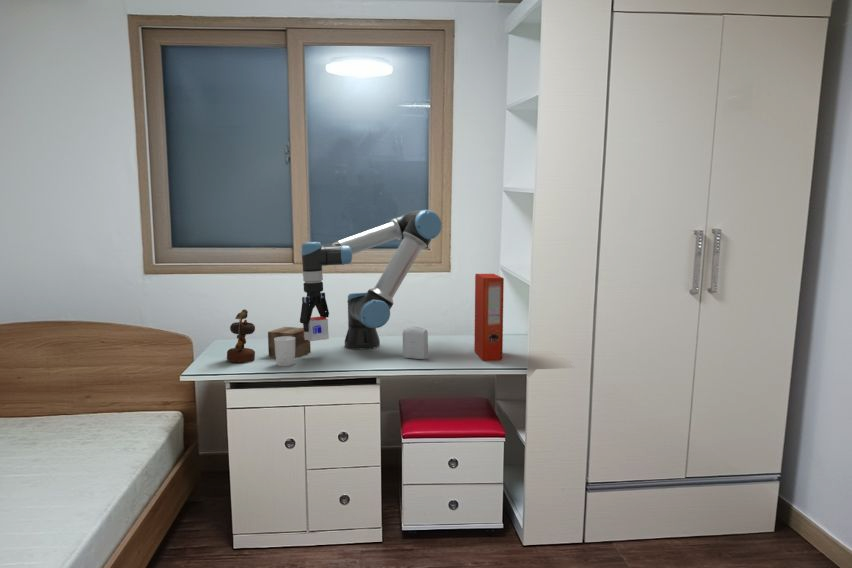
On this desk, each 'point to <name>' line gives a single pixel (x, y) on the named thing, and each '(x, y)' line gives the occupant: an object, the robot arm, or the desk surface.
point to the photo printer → (415, 343)
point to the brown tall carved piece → (241, 340)
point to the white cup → (285, 350)
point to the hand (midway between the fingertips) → (315, 336)
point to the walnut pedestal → (300, 342)
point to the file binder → (489, 316)
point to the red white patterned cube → (318, 328)
